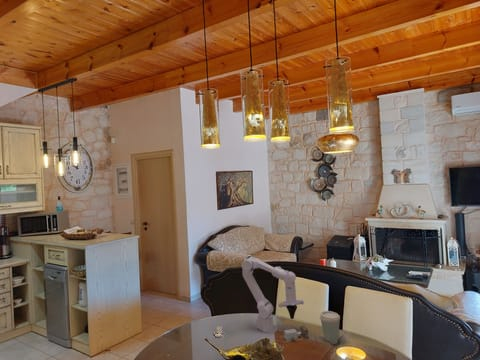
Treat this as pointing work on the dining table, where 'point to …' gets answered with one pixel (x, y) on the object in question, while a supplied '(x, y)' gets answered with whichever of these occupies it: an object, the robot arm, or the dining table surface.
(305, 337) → the scale board
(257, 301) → the robot arm
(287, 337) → the gauge carriage
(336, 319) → the disposable coffee cup
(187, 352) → the dining table surface
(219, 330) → the teacup and saucer
